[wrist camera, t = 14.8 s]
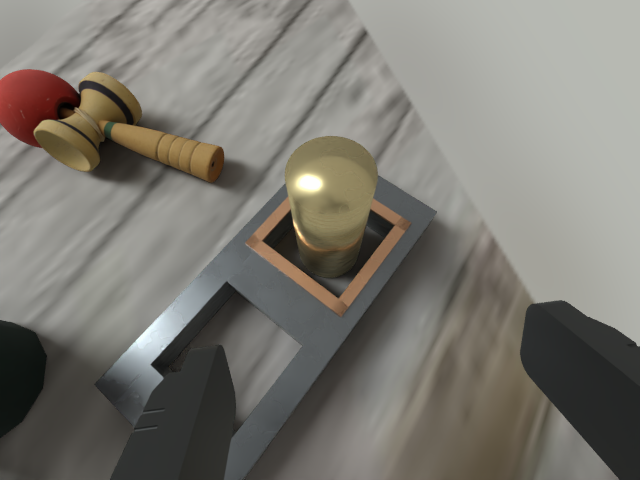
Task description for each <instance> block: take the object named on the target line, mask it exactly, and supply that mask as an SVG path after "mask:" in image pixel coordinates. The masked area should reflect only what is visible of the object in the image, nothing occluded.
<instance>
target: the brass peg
mask: <svg viewBox="0 0 640 480" xmlns="http://www.w3.org/2000/svg"><path fill="white" fill-rule="evenodd" d="M377 180H378V172H377V167H376V163H375V161H374V159H373V157H372V156H371V154H370V153H369V152H368V151H367V150H366V149H365V148H364V147H363V146H361V145H360V144H358V143H356V142H355V141H352V140H350V139H347V138H343V137H337V136H325V137H319V138H315V139H312V140H310V141H308V142H306V143H304V144H303V145H301V146H300V147H299V148H297V149H296V150H295V151H294V153H293V154H292V155H291V157H290V158H289V160H288V162H287V165H286V169H285V181H286V187H287V192H288V197H289V202H290V208H291V213H292V218H293V223H294V228H295V233H296V239H297V244H298V249H299V254H300V258H301V261H302V263H303V264H304V266H305V267H306V268H307V269H308V270H309V271H310V272H312V273H313V274H315V275H317V276H320V277H325V278H333V277H338V276H341V275H343V274H345V273H347V272H348V271H349V270H350V269H351V268H352V267H353V266H354V264H355V263H356V261H357V258H358V255H359V251H360V247H361V243H362V239H363V235H364V231H365V228H366V224H367V220H368V216H369V212H370V208H371V204H372V200H373V196H374V193H375V189H376V185H377Z"/></svg>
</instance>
